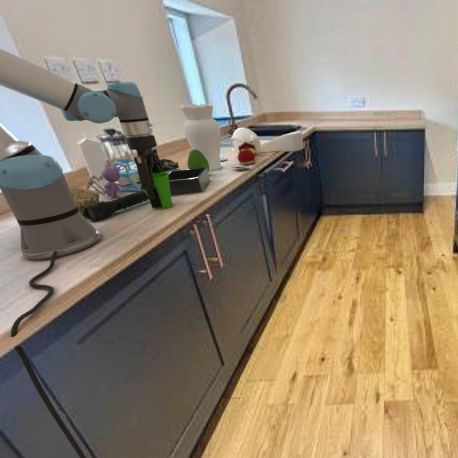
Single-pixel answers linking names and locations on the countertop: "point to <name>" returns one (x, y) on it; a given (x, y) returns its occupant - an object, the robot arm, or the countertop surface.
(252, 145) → the figurine
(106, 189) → the maze
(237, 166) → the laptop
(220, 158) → the toy
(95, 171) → the milk
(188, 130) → the vase
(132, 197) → the flashlight
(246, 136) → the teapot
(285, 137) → the shoe sole
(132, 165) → the ink box
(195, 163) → the fruit
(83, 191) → the sponge
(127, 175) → the chair
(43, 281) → the countertop surface
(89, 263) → the countertop surface
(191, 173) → the dark grey open box
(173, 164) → the race car
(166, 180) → the cup
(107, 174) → the figurine
